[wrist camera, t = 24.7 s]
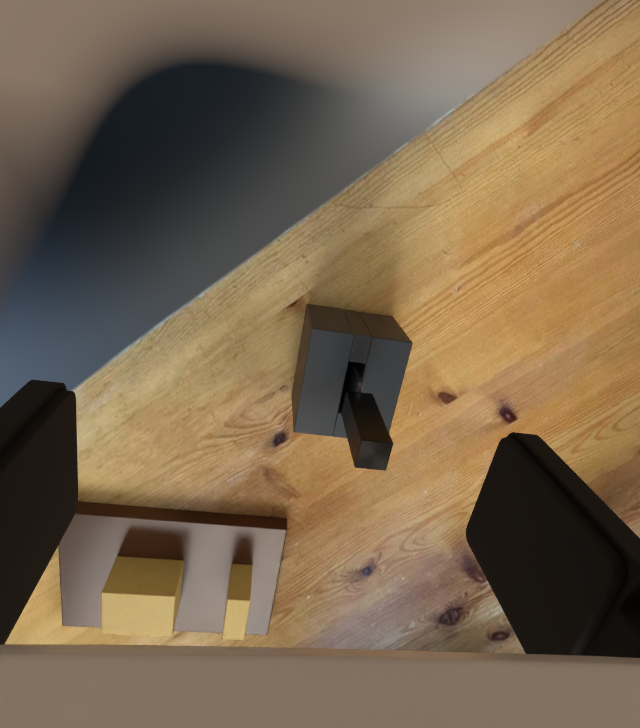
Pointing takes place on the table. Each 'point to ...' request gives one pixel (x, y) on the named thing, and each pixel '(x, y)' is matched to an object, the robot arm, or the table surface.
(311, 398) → the knife block
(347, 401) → the knife
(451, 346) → the table surface
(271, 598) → the board
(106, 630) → the butter
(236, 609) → the butter slice
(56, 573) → the table surface
